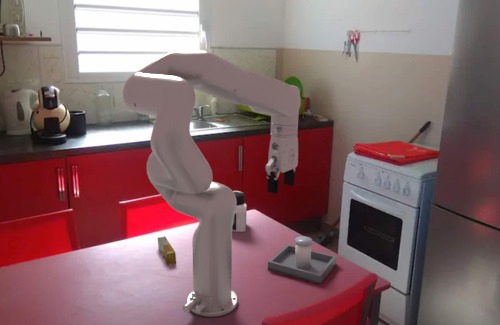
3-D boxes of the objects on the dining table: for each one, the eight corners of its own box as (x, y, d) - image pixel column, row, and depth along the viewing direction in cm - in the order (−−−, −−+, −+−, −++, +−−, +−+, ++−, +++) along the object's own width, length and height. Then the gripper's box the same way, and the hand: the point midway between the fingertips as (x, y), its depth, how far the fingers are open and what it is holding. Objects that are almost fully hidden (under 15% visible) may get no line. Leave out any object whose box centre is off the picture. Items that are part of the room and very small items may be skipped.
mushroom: (307, 270, 129) (308, 245, 127) (291, 266, 131) (292, 241, 129) (313, 263, 133) (315, 238, 131) (297, 259, 136) (299, 234, 133)
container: (245, 232, 156) (246, 196, 153) (223, 231, 156) (223, 196, 153) (246, 223, 163) (246, 189, 160) (225, 223, 164) (225, 189, 160)
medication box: (157, 248, 143) (157, 237, 142) (166, 247, 144) (165, 235, 143) (167, 265, 132) (167, 253, 131) (176, 263, 133) (176, 251, 132)
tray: (319, 284, 123) (320, 276, 122) (267, 269, 130) (268, 261, 130) (336, 264, 134) (336, 256, 134) (287, 251, 142) (287, 244, 141)
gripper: (281, 135, 116) (278, 198, 120) (309, 127, 130) (305, 184, 135) (256, 132, 120) (254, 193, 124) (286, 124, 134) (283, 179, 138)
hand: (281, 188), depth 129 cm, fingers open, 9 cm apart
